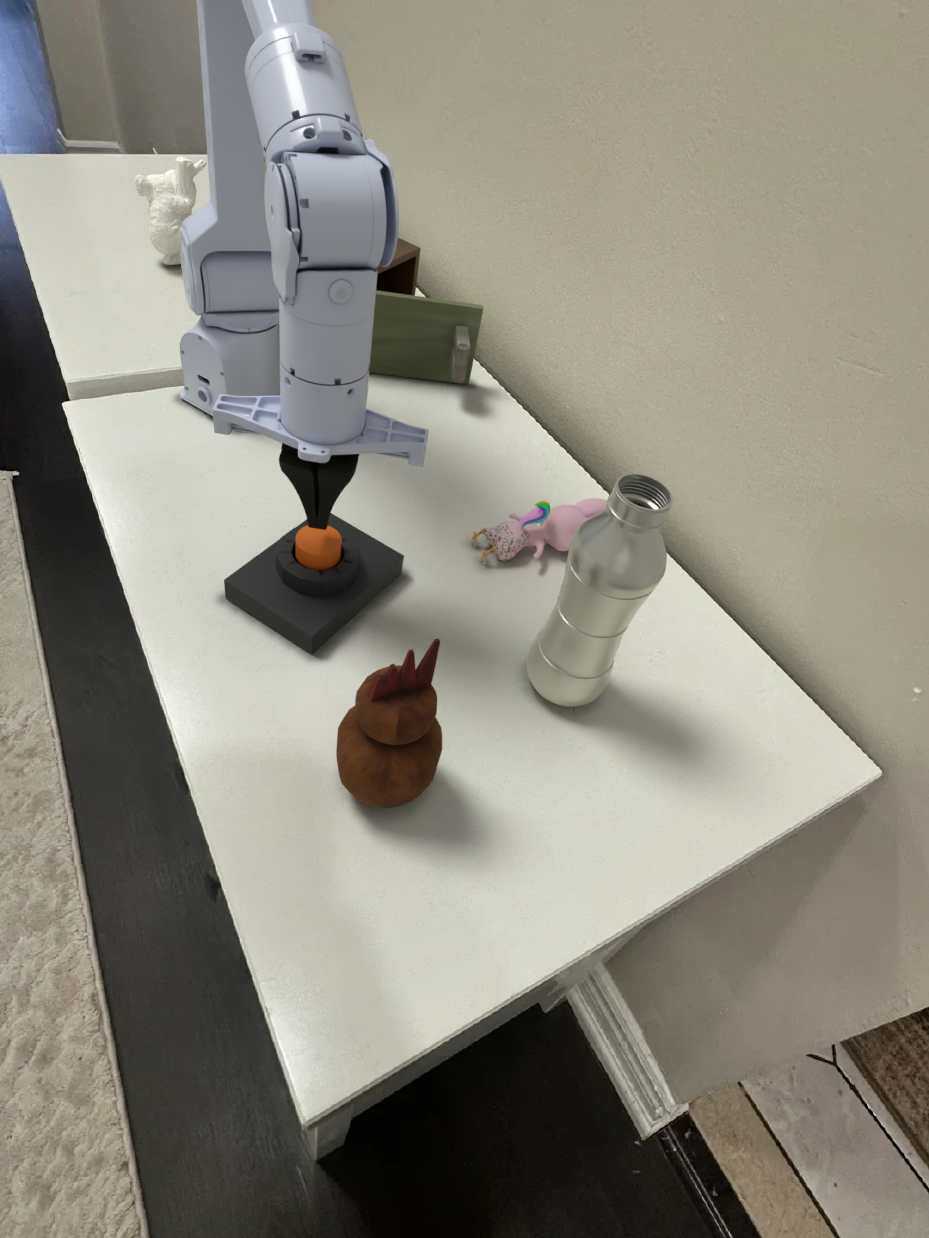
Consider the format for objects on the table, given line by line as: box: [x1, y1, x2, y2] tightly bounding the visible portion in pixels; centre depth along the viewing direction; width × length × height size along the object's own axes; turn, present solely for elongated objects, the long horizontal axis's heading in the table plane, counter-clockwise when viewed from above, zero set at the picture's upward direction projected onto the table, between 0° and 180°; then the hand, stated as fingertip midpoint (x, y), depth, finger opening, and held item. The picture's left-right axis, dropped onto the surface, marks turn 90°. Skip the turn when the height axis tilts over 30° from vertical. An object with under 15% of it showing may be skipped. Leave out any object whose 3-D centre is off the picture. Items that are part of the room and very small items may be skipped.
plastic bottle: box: [526, 472, 674, 708], centre depth 55 cm, size 6×7×20 cm
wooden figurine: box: [335, 638, 443, 809], centre depth 48 cm, size 7×6×15 cm
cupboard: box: [376, 237, 421, 296], centre depth 90 cm, size 10×15×10 cm
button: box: [295, 525, 342, 570], centre depth 61 cm, size 4×4×2 cm
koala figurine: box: [134, 156, 208, 266], centre depth 93 cm, size 8×7×12 cm
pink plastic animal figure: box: [471, 497, 607, 565], centre depth 71 cm, size 6×6×15 cm
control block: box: [223, 512, 405, 655], centre depth 63 cm, size 12×9×4 cm
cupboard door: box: [369, 290, 484, 385], centre depth 83 cm, size 6×15×9 cm, turn 93°
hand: (319, 520), depth 59 cm, fingers closed
